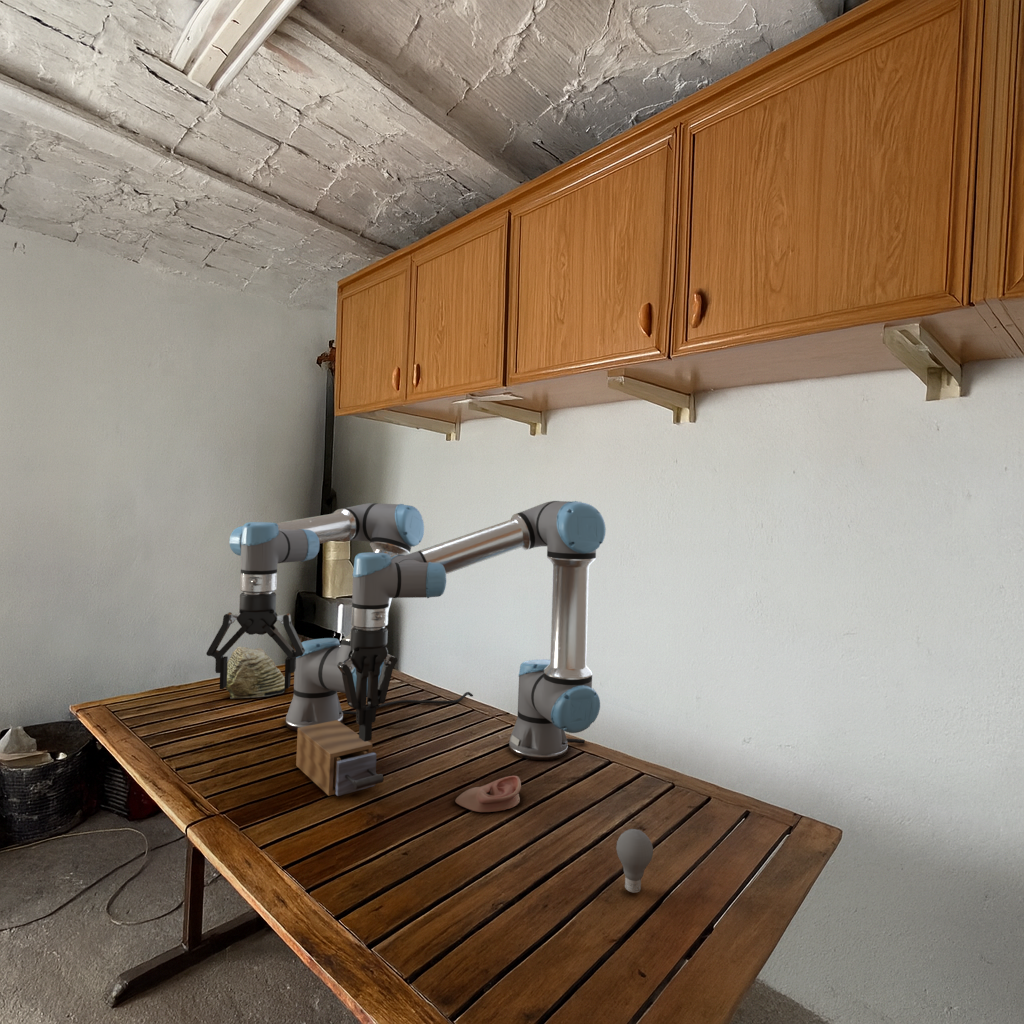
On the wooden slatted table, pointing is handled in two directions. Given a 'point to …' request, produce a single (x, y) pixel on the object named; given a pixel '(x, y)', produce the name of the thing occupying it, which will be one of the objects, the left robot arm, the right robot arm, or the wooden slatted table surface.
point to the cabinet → (326, 750)
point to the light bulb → (634, 857)
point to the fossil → (253, 674)
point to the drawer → (355, 772)
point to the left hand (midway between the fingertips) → (255, 687)
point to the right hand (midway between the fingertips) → (365, 738)
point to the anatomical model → (492, 795)
